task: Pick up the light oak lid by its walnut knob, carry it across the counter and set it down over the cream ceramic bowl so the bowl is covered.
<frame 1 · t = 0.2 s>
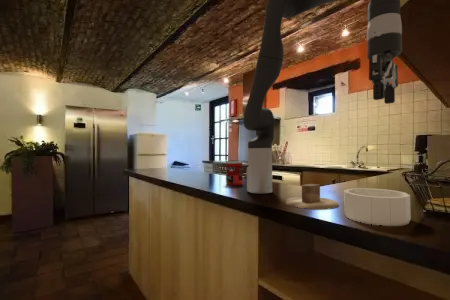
hand: (384, 101, 63), 28 cm above the countertop, fingers open, 8 cm apart
canned food: (234, 184, 121), on the countertop
oak lid: (311, 204, 76), on the countertop
cream bowl: (375, 217, 59), on the countertop
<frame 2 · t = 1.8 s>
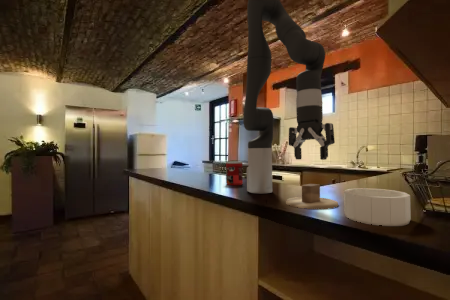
hand: (310, 159, 75), 13 cm above the countertop, fingers open, 8 cm apart
nothing on the countertop moved.
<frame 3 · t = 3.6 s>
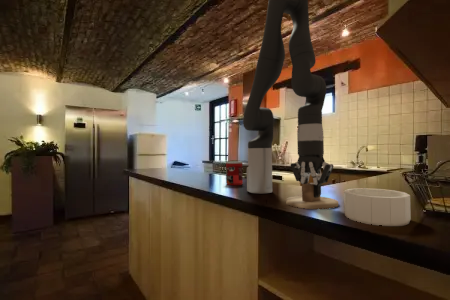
hand: (311, 196, 75), 2 cm above the countertop, fingers closed on oak lid, 3 cm apart
oak lid: (311, 203, 75), on the countertop, touching gripper
everything else where it was.
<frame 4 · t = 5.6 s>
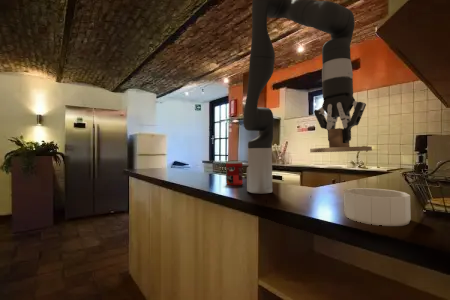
hand: (339, 143, 67), 18 cm above the countertop, fingers closed on oak lid, 3 cm apart
oak lid: (339, 151, 67), point 16 cm above the countertop, touching gripper
everything else where it was.
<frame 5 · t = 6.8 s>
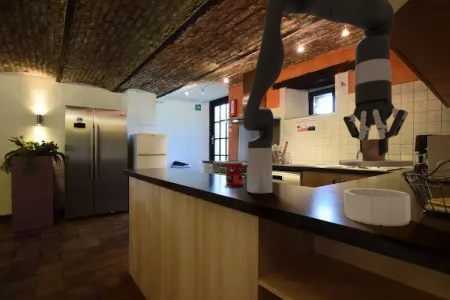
hand: (373, 155, 59), 15 cm above the countertop, fingers closed on oak lid, 3 cm apart
oak lid: (373, 164, 59), point 13 cm above the countertop, touching gripper
everything else where it was.
when the fingers open (10 cm above the countertop, at t = 7.9 s): oak lid drops 1 cm, resting on cream bowl.
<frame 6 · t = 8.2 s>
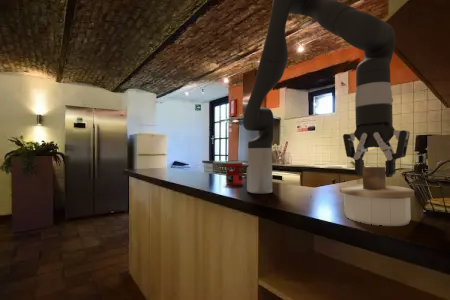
hand: (374, 175, 59), 10 cm above the countertop, fingers open, 5 cm apart
oak lid: (374, 192, 59), point 6 cm above the countertop, touching cream bowl
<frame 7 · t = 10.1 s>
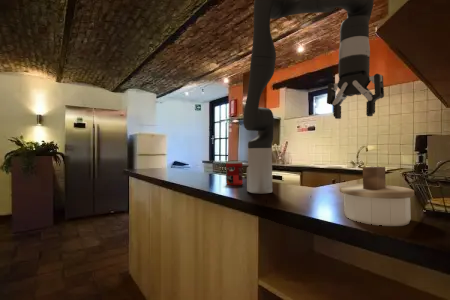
hand: (353, 117, 68), 25 cm above the countertop, fingers open, 8 cm apart
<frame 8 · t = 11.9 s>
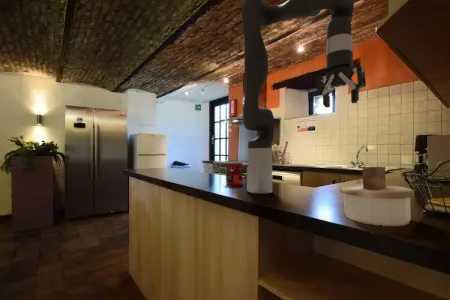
hand: (340, 105, 77), 30 cm above the countertop, fingers open, 8 cm apart
at the end: oak lid 0.0 cm off-centre on the cream bowl, point 6.0 cm above the cream bowl's base; oak lid tilted 0°; the gripper is holding nothing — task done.
